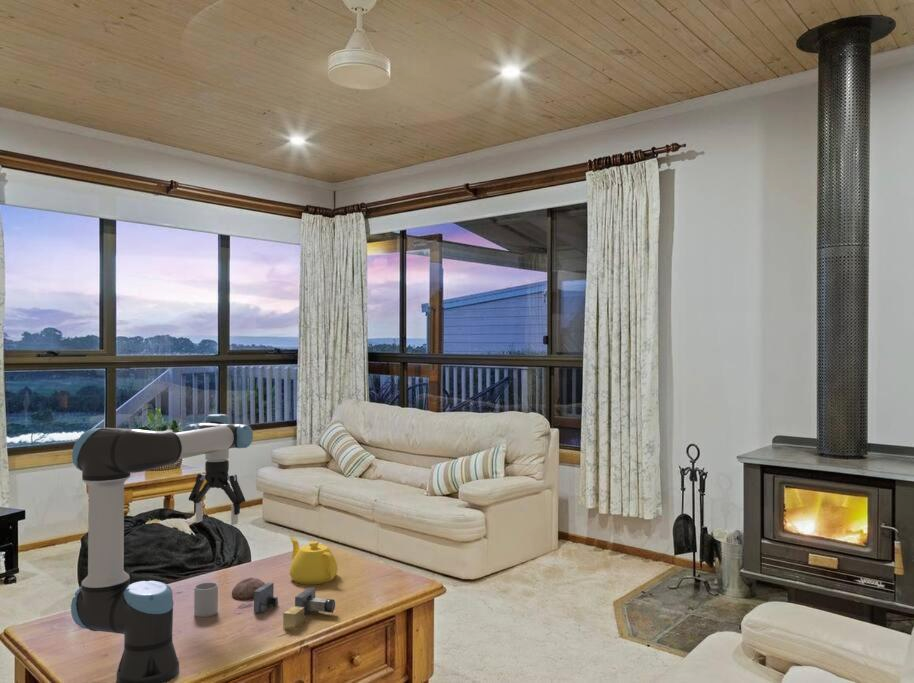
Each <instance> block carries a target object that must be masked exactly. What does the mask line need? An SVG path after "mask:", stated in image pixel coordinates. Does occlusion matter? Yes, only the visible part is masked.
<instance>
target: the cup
mask: <svg viewBox="0 0 914 683" xmlns="http://www.w3.org/2000/svg"><path fill="white" fill-rule="evenodd" d="M218 585H219V584H218V583H217V582H213V581H212V582H210V581H208V582H201V583H198V584H195V585H194V589H193V590H194V595H193V596H194V598H193V599H194V600H193V606H194V607H193V608H194V609H193V610H194V612H193V614H194V616H195V617H198V618H207V617H212V616H215V615H216V614H217V613H218V608H219V606H218V605H219V604H218V603H219V602H218V601H219V586H218Z"/></svg>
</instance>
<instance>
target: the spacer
mask: <svg viewBox="0 0 914 683" xmlns="http://www.w3.org/2000/svg"><path fill="white" fill-rule="evenodd" d="M282 619H283V628H282V629H283V630H289V631H290V630H291V631H296V630H297V629H299V628H300V627H301V626H303V625H304V624H305V616H304V607H297V606H295V605H293V606H291V607H289V608H288V609H287V610H286V611H284V612H283V618H282Z"/></svg>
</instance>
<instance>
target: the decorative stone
mask: <svg viewBox="0 0 914 683" xmlns="http://www.w3.org/2000/svg"><path fill="white" fill-rule="evenodd" d="M265 584H266V583H265V582H264V581H263V580H261V579H259V578H255V577H247V578H242V579H241V580H239V581H238V583H237V584H236V585H235V586H234V587H233V588H232V590H231V596H232V597H233V598H234V599H236V600H239V601H240V600H241V601H245V600H246V601H247V600H248V601H249V600H254V591H255V590H257V589H259V588H260V587H262V586H263V585H265Z"/></svg>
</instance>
